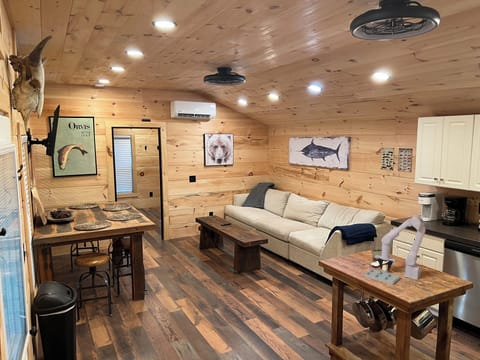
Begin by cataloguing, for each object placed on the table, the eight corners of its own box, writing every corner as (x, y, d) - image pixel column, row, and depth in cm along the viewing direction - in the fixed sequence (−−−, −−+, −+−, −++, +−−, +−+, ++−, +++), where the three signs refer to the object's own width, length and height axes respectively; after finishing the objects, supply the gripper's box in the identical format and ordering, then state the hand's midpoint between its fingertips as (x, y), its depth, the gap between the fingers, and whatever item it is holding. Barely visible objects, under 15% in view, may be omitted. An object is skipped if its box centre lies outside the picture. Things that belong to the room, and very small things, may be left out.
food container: (384, 259, 287) (385, 247, 286) (387, 261, 281) (387, 249, 280) (369, 258, 288) (369, 247, 287) (371, 261, 282) (371, 249, 281)
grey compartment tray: (400, 278, 249) (400, 276, 249) (392, 284, 239) (392, 282, 239) (372, 271, 263) (372, 268, 262) (364, 276, 253) (364, 274, 252)
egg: (388, 271, 262) (389, 264, 262) (386, 272, 259) (386, 266, 259) (383, 269, 265) (383, 263, 264) (381, 271, 262) (381, 265, 261)
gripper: (398, 252, 258) (397, 270, 260) (378, 248, 268) (377, 265, 270) (394, 255, 253) (393, 273, 255) (374, 250, 263) (373, 268, 265)
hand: (385, 269), depth 262 cm, fingers open, 5 cm apart
